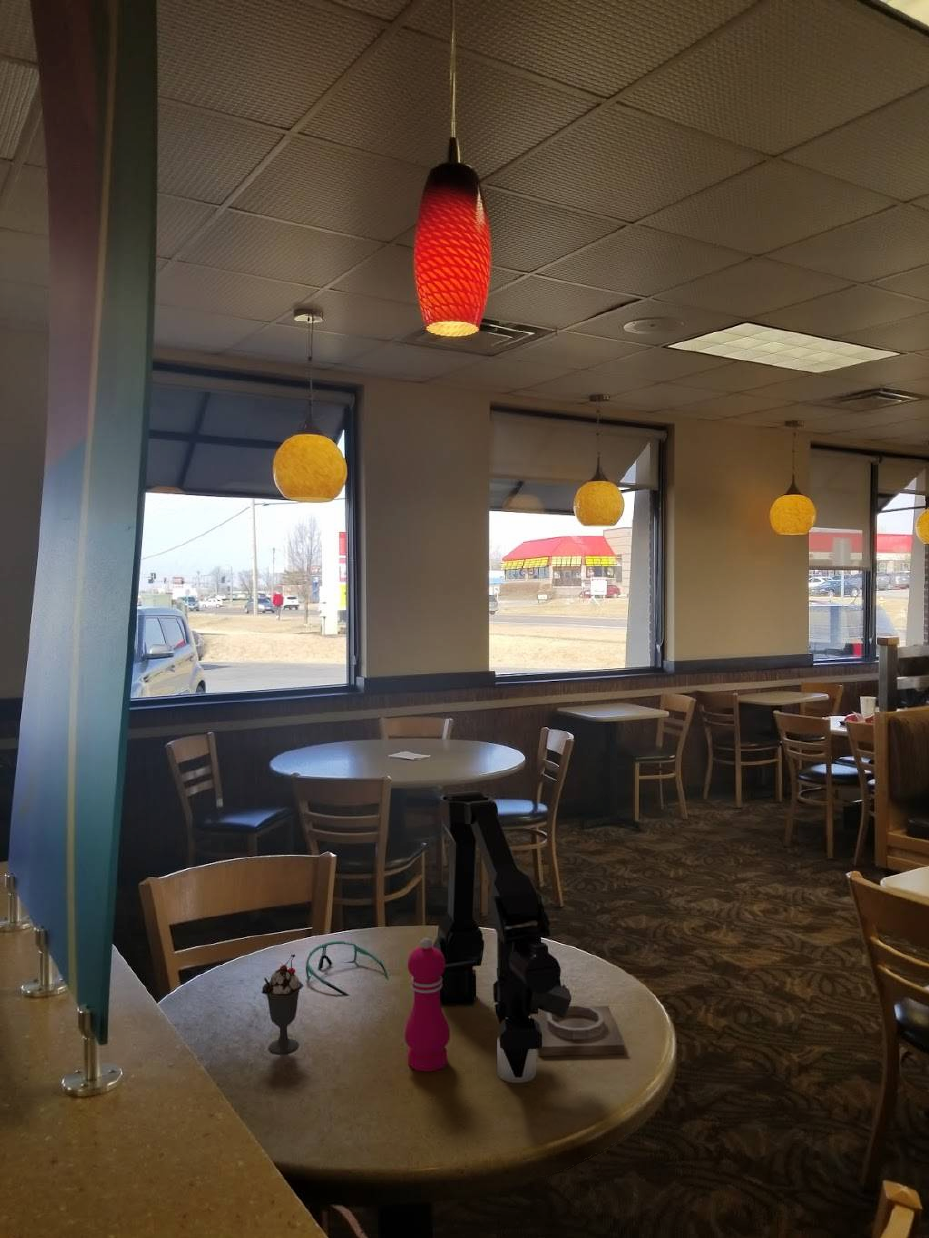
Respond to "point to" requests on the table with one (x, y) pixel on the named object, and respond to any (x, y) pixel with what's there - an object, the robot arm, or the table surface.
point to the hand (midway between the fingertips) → (516, 1066)
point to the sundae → (283, 1005)
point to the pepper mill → (426, 1010)
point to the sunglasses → (309, 969)
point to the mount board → (579, 1032)
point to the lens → (506, 1071)
